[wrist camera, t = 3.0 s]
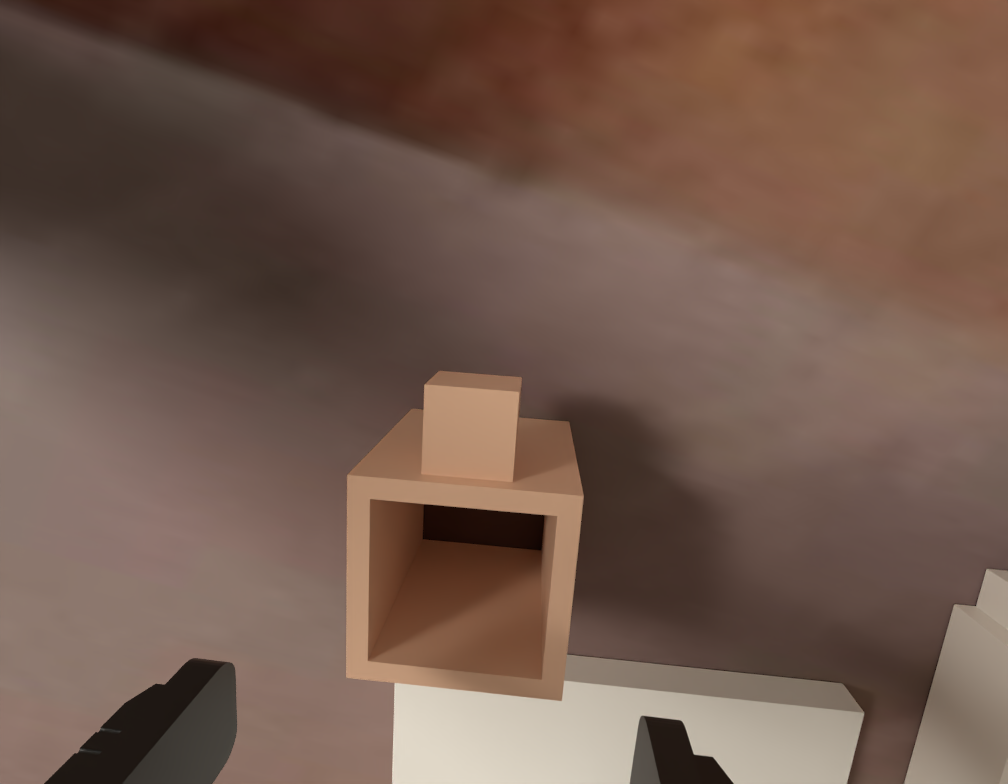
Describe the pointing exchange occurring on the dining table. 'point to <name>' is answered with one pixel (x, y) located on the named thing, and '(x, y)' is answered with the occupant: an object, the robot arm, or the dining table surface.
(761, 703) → the base
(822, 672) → the dining table surface
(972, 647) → the vegetable dish rim
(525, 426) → the collar
